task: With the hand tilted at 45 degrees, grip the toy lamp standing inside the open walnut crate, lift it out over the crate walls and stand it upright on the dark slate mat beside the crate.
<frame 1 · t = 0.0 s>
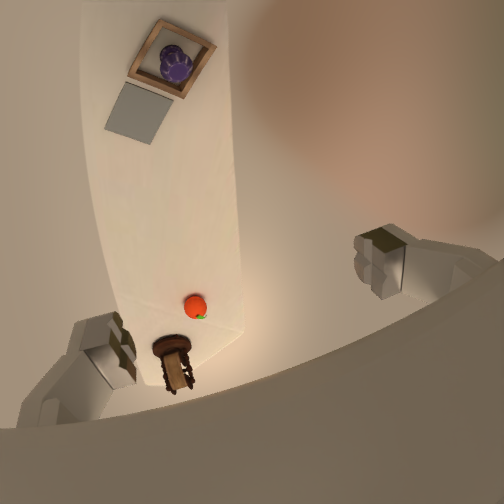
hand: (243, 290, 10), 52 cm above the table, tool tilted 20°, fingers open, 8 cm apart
clementine: (194, 298, 94), on the table
walnut crate: (169, 56, 45), on the table
brown wooden spool rack: (170, 343, 109), on the table
slate mat: (138, 113, 50), on the table
toy lamp: (169, 56, 45), resting in walnut crate
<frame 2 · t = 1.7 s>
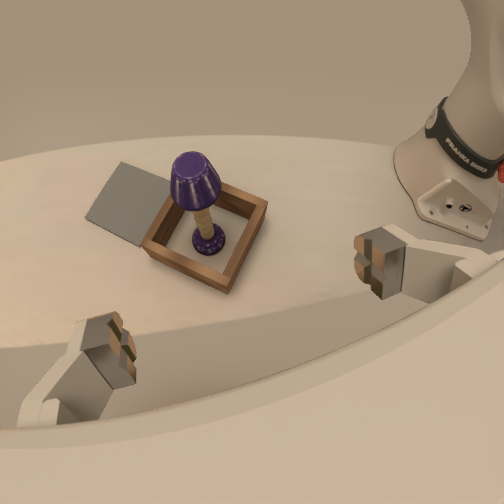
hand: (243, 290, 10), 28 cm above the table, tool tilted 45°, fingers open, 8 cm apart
walnut crate: (207, 237, 39), on the table
slate mat: (129, 201, 40), on the table
toy lamp: (207, 237, 39), resting in walnut crate
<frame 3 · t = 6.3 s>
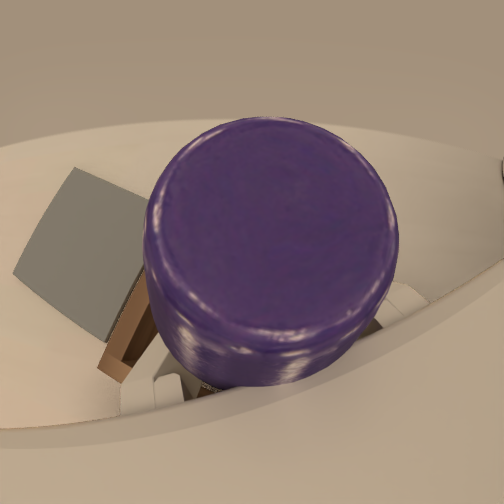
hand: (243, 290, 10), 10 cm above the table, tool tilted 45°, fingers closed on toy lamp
walnut crate: (241, 328, 19), on the table
slate mat: (85, 246, 20), on the table
toy lamp: (241, 328, 19), resting in walnut crate, touching gripper
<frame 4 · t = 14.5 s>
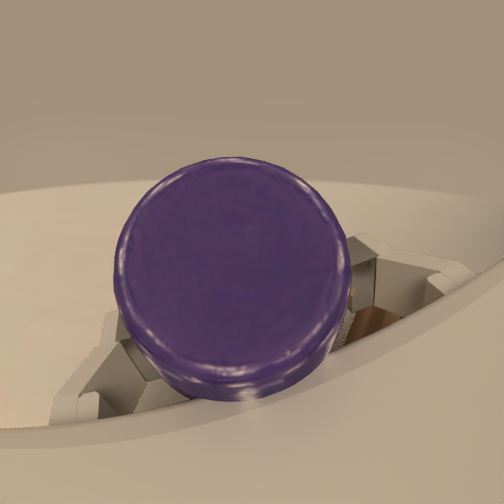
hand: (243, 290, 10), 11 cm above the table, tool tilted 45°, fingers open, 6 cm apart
walnut crate: (396, 390, 19), on the table
toy lamp: (237, 336, 19), resting on slate mat
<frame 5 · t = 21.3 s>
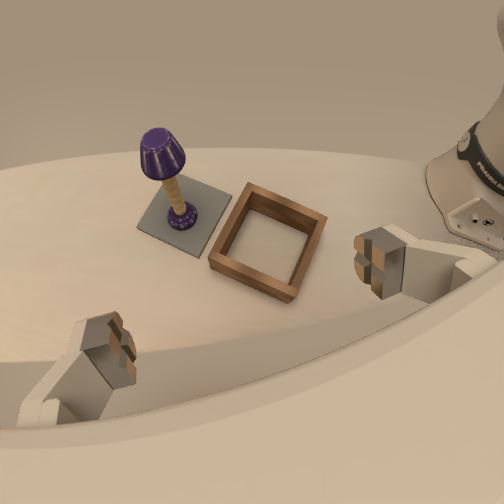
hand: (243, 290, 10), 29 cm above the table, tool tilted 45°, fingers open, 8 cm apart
walnut crate: (266, 249, 41), on the table
slate mat: (184, 212, 42), on the table
toy lamp: (181, 215, 42), resting on slate mat
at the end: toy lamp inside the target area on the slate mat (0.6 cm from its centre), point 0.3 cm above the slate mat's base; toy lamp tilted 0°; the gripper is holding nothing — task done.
